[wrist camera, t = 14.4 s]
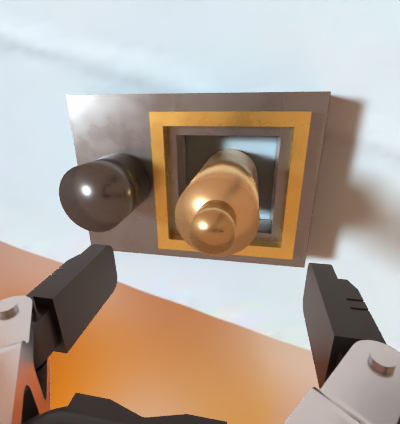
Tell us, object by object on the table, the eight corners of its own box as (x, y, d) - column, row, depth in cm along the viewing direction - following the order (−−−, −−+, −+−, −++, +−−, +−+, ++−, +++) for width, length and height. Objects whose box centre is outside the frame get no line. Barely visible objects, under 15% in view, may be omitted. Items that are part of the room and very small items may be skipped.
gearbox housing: (320, 92, 22) (354, 88, 14) (299, 250, 27) (315, 306, 20) (86, 95, 25) (17, 93, 18) (106, 235, 30) (59, 278, 23)
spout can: (259, 149, 24) (264, 190, 13) (255, 203, 26) (256, 279, 15) (202, 148, 25) (162, 185, 14) (202, 201, 27) (167, 270, 16)
